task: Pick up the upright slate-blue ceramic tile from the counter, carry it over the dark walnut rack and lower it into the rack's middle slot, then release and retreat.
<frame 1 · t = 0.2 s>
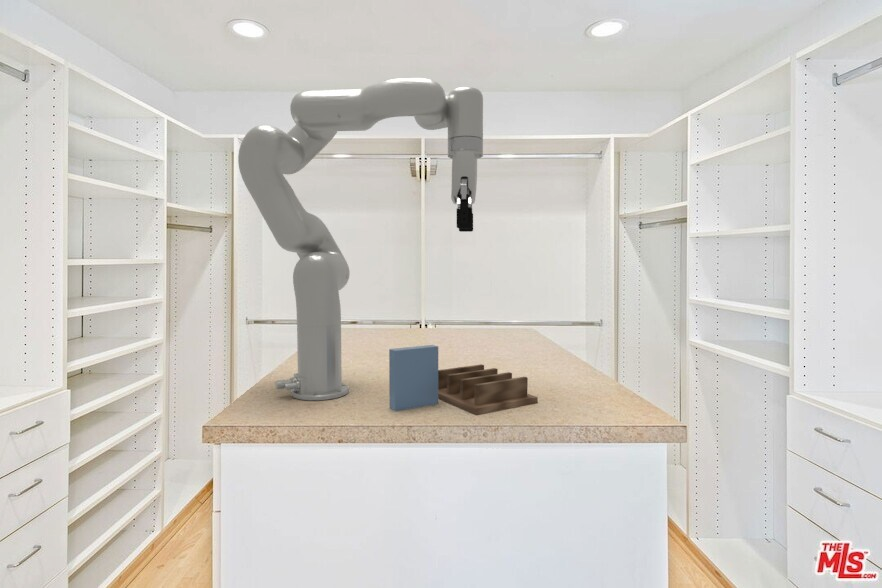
hand: (465, 229, 106), 36 cm above the table, fingers open, 9 cm apart
tile: (414, 406, 100), on the table
rack: (479, 397, 106), on the table
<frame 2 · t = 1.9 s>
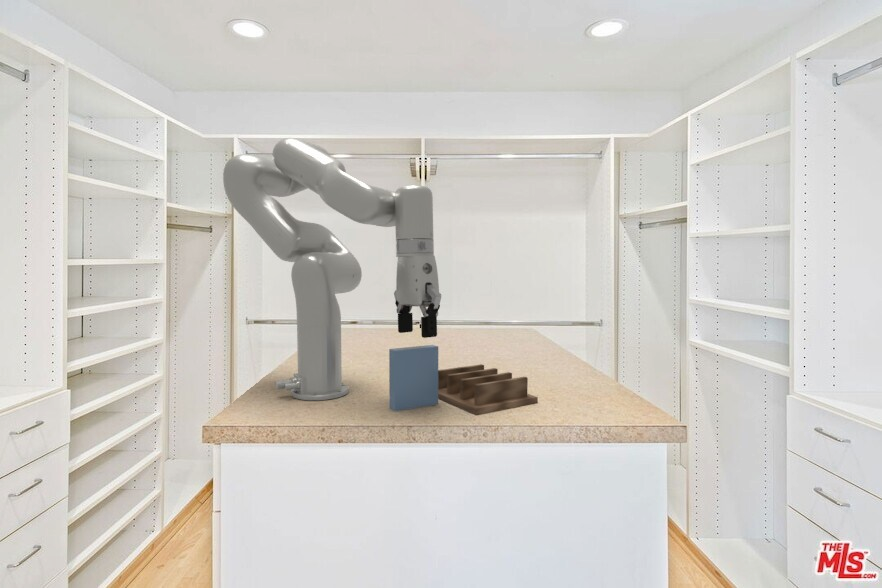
hand: (417, 334, 99), 15 cm above the table, fingers open, 9 cm apart
nothing on the table moved.
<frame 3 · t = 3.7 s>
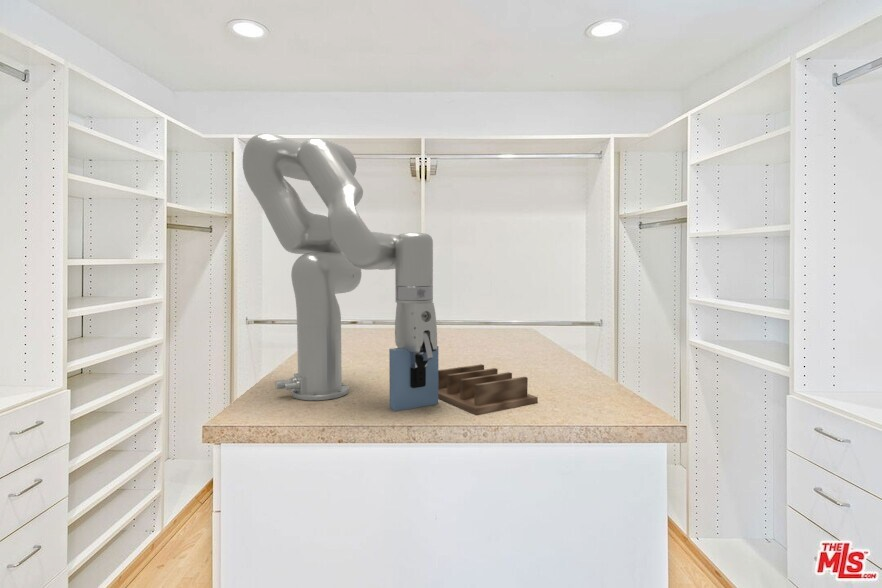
hand: (414, 384, 100), 4 cm above the table, fingers closed on tile, 2 cm apart
tile: (414, 405, 100), on the table, touching gripper
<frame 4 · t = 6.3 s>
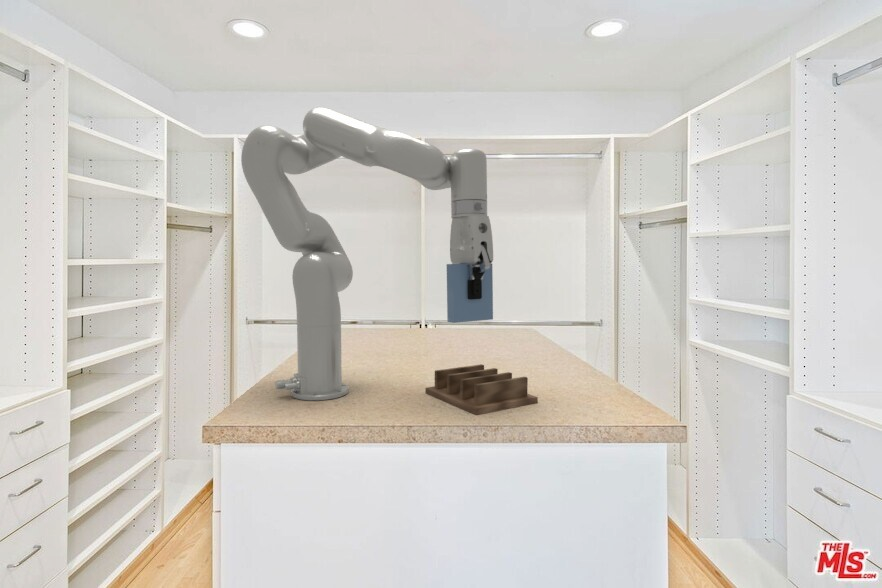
hand: (470, 298, 104), 22 cm above the table, fingers closed on tile, 2 cm apart
tile: (470, 320, 104), point 17 cm above the table, touching gripper
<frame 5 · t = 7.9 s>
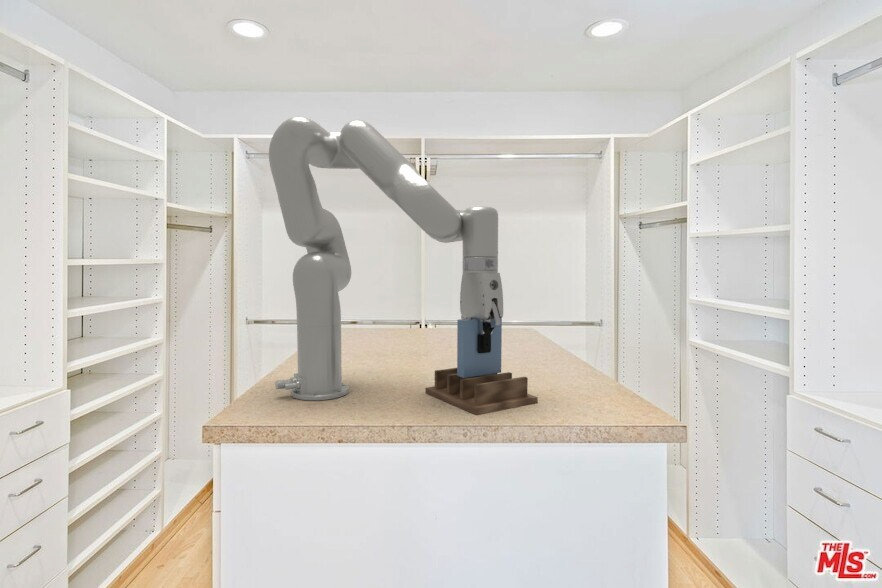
hand: (479, 350, 106), 10 cm above the table, fingers closed on tile, 2 cm apart
tile: (479, 374, 106), point 5 cm above the table, touching gripper
when the fingers open (7 cm above the table, at t = 8.9 s): tile stays where it is, resting on rack.
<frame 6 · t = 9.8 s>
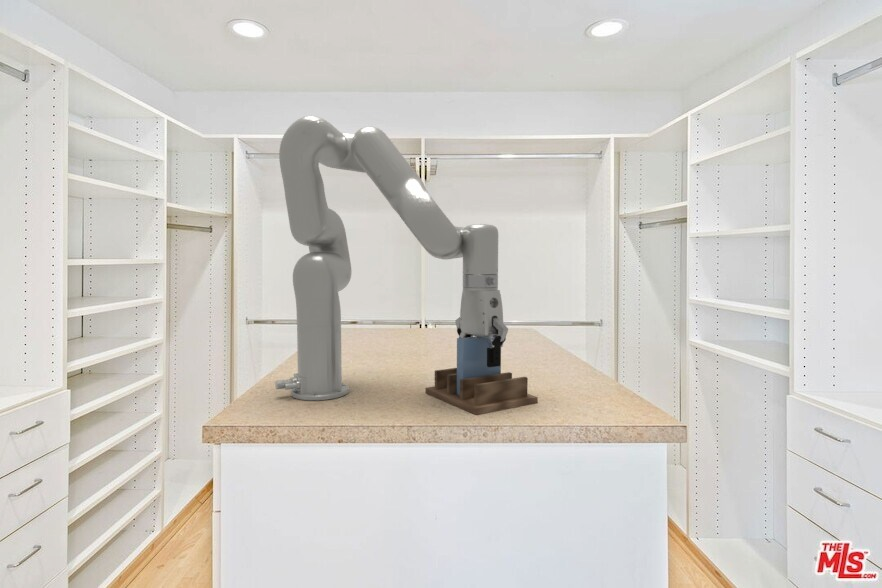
hand: (479, 362, 106), 8 cm above the table, fingers open, 9 cm apart
tile: (479, 392, 106), point 1 cm above the table, touching rack
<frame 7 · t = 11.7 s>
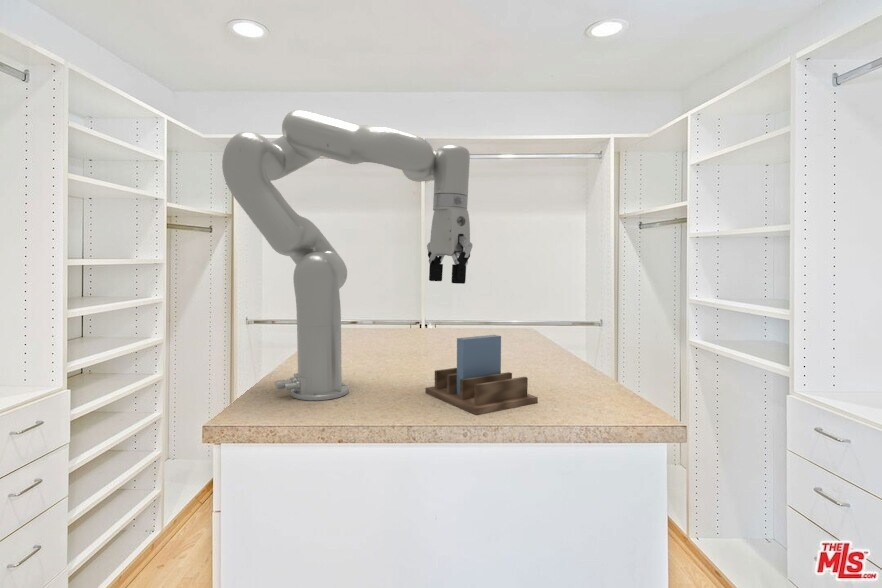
hand: (446, 282, 109), 25 cm above the table, fingers open, 9 cm apart
nothing on the table moved.
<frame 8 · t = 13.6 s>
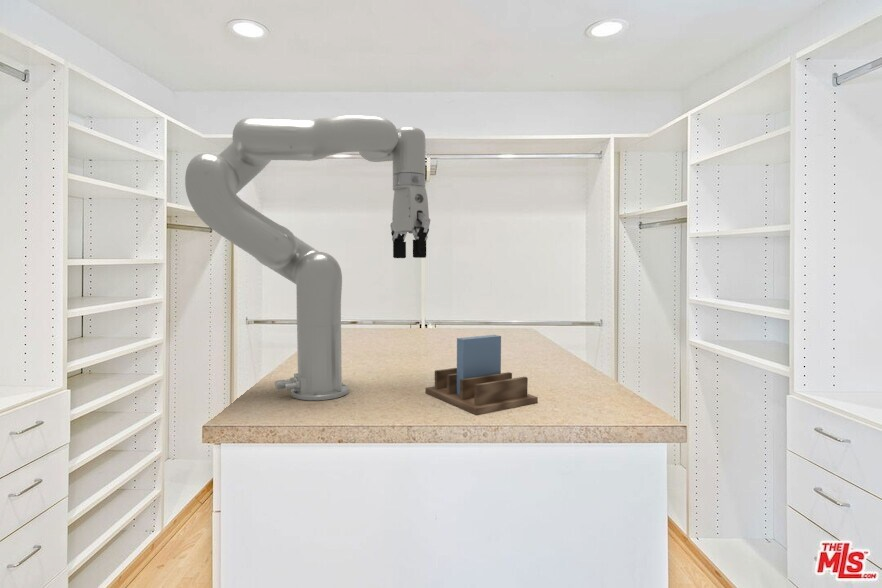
hand: (409, 257, 115), 30 cm above the table, fingers open, 9 cm apart
nothing on the table moved.
at the end: tile 0.1 cm off-centre on the rack, point 1.2 cm above the rack's base; tile tilted 0°; the gripper is holding nothing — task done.
